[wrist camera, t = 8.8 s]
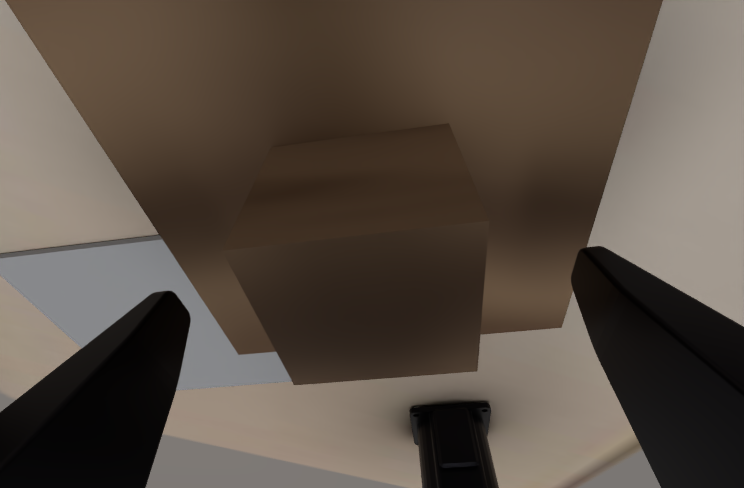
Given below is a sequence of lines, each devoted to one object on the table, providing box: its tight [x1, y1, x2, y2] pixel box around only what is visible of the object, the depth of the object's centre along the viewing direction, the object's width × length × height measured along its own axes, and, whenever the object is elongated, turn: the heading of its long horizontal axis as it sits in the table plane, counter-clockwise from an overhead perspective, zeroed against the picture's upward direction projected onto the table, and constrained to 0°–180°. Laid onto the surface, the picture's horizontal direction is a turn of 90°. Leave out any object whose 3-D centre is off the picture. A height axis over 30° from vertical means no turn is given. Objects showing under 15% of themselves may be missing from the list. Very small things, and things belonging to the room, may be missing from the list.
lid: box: [5, 0, 663, 385], centre depth 9 cm, size 13×13×5 cm
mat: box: [0, 235, 292, 390], centre depth 23 cm, size 14×14×1 cm
